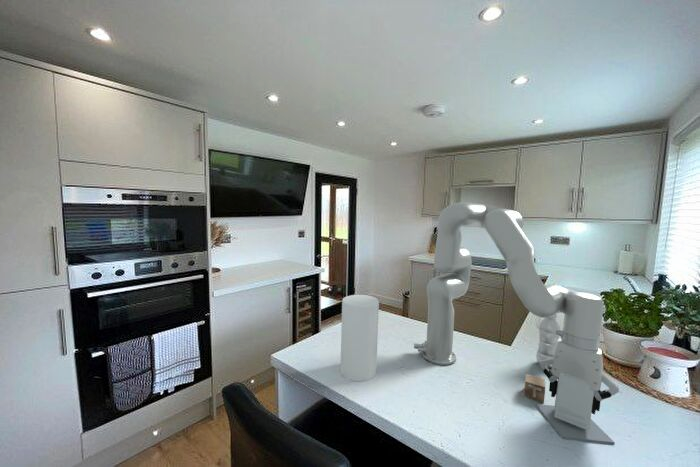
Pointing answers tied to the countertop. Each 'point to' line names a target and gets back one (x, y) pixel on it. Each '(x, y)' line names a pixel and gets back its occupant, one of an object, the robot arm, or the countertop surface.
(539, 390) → the letter cube
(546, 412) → the mat
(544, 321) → the plastic bottle
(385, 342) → the countertop surface
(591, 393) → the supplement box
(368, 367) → the cylinder
